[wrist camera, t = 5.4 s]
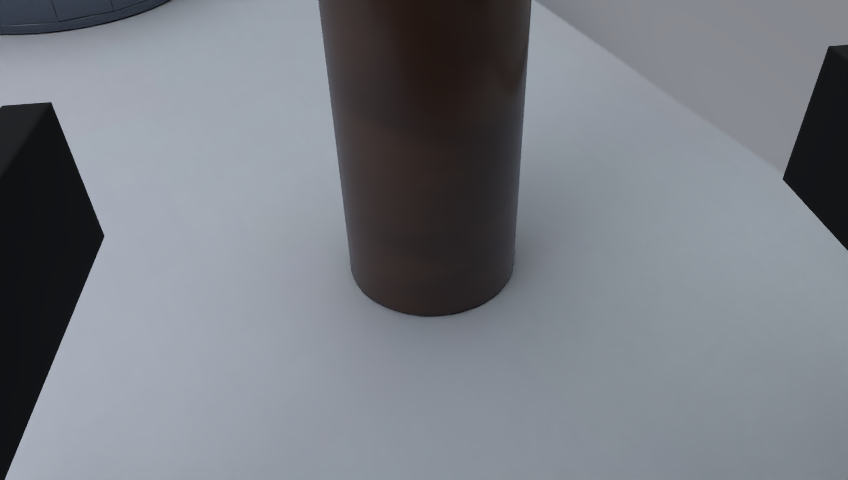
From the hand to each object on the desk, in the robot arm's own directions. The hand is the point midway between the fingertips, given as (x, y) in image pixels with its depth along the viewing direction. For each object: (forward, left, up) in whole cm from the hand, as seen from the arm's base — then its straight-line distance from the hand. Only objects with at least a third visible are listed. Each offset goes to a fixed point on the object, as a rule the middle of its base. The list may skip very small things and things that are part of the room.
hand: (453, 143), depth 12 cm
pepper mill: (0, -5, -7) cm, 9 cm away
